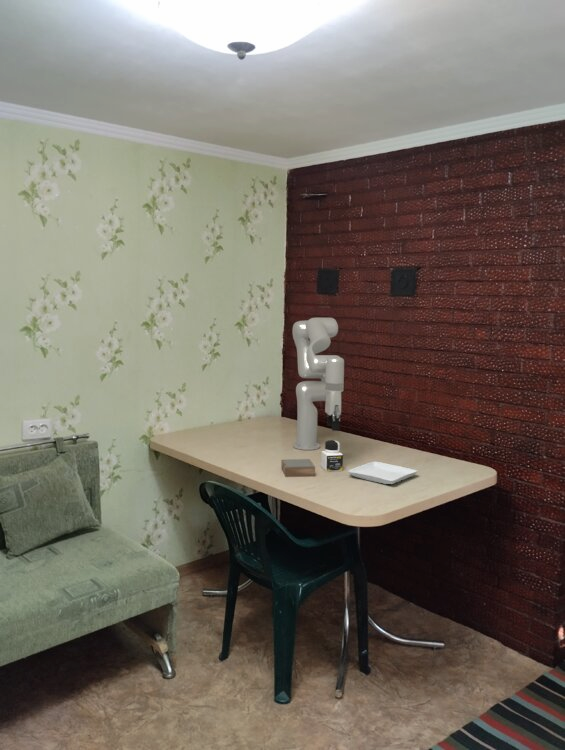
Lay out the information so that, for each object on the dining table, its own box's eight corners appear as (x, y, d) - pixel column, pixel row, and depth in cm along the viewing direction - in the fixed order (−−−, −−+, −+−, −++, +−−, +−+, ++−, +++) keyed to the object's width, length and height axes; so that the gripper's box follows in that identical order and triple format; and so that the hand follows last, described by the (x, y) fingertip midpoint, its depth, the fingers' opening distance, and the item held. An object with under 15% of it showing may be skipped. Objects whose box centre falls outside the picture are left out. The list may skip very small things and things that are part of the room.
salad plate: (373, 467, 272) (373, 459, 271) (418, 477, 259) (419, 469, 258) (345, 478, 256) (345, 470, 255) (392, 489, 242) (392, 480, 242)
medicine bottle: (326, 471, 263) (327, 443, 261) (320, 467, 270) (321, 439, 268) (342, 470, 265) (343, 442, 263) (336, 466, 272) (337, 438, 270)
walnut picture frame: (281, 468, 266) (281, 459, 266) (309, 468, 268) (309, 458, 268) (285, 476, 255) (285, 467, 254) (315, 476, 256) (315, 466, 256)
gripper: (321, 384, 271) (320, 424, 273) (329, 390, 254) (328, 432, 256) (338, 384, 272) (337, 424, 274) (348, 390, 255) (347, 432, 257)
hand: (333, 428), depth 265 cm, fingers open, 9 cm apart
